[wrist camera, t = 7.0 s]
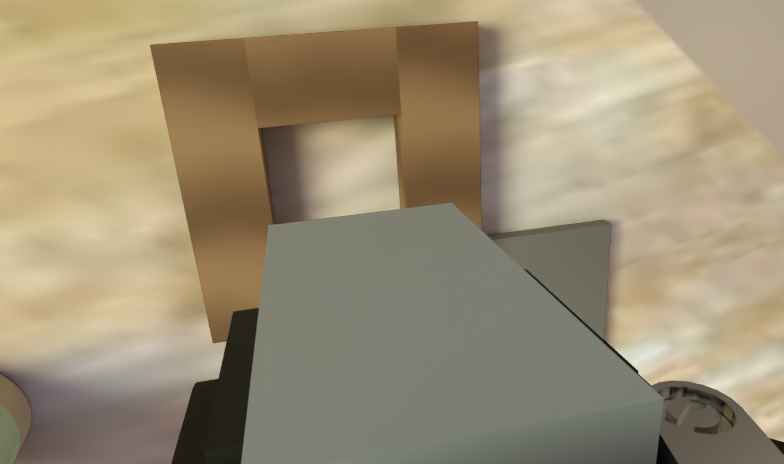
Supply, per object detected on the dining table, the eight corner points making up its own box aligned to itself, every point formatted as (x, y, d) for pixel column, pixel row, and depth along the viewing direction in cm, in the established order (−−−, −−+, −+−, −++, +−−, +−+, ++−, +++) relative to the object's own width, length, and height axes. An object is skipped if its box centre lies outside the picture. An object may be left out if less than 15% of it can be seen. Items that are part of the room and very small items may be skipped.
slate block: (268, 224, 12) (239, 480, 5) (451, 202, 13) (664, 398, 6) (293, 385, 14) (299, 764, 7) (456, 357, 15) (630, 671, 7)
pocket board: (161, 45, 23) (150, 44, 22) (464, 23, 25) (478, 21, 24) (218, 324, 28) (213, 343, 26) (471, 287, 30) (482, 302, 28)
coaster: (398, 247, 28) (401, 252, 28) (603, 219, 30) (611, 224, 29) (411, 429, 32) (414, 437, 32) (592, 395, 34) (599, 403, 33)
